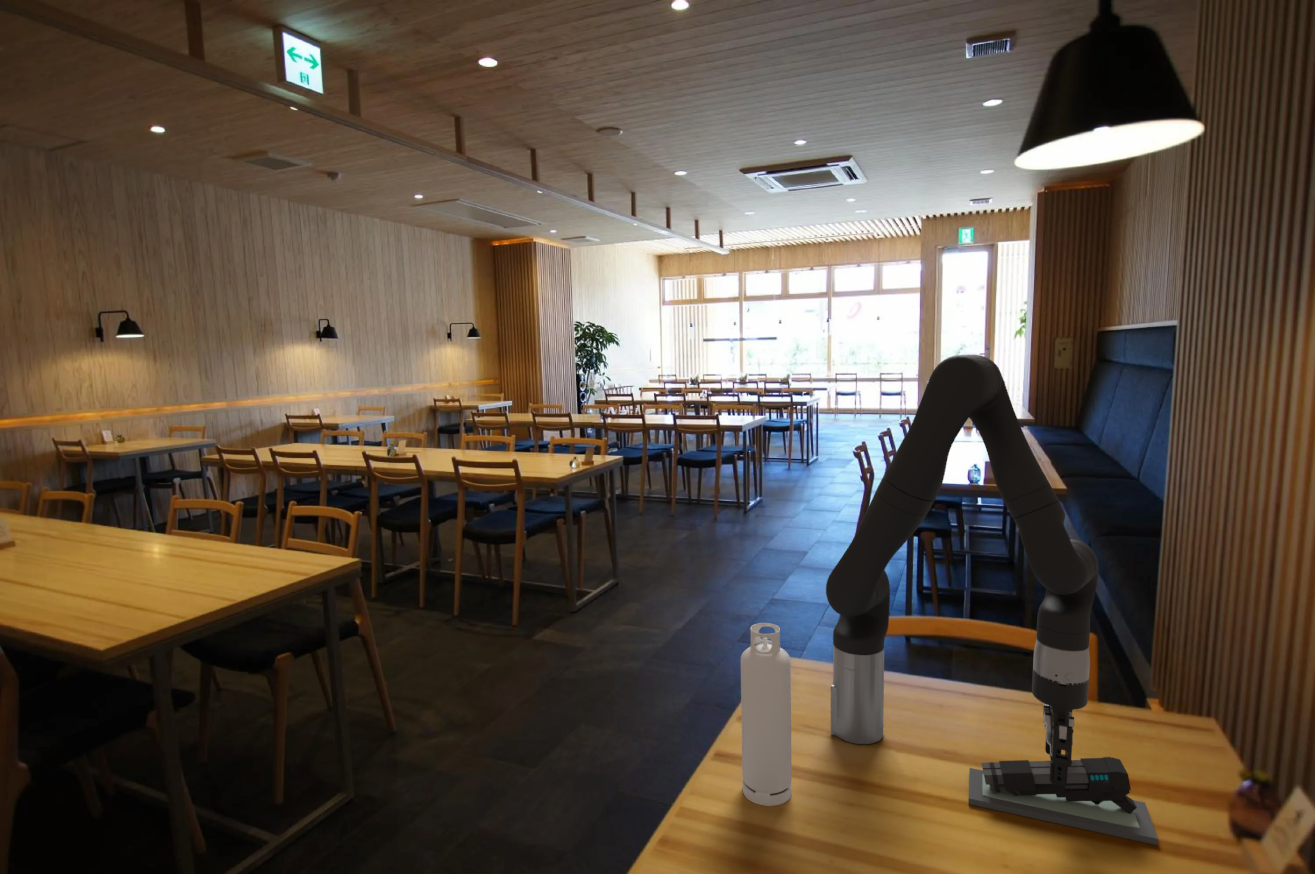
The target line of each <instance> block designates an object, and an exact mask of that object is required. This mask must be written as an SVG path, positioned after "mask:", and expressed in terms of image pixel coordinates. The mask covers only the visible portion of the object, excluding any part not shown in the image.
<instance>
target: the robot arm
mask: <svg viewBox="0 0 1315 874" xmlns="http://www.w3.org/2000/svg"><path fill="white" fill-rule="evenodd" d="M968 420H971V422H972V424H973V425H974V427H975V428H976V430H977V431H978V433H979V435H980V438H981V440H982V442H983V444H984V447H985V449H986V453H987V457H988V460H989V464H990V468H991V472H992V475H993V476H992V477H993V479H994V483H995V486H996V488H997V490H998V493H999V495H1000V497H1001V498H1002V501H1003V503H1004V505H1005V506H1006V508H1007V510H1008V512H1009V515H1010V516H1011V518H1012V520H1013V521H1014V523H1015V525H1016V526H1017V528H1018V532H1019V535H1020V539H1021V542H1022V543H1021V544H1022V546H1023V549H1024V552H1025V554H1026V555H1025V556H1026V558H1027V561H1028V565H1029V567H1030V568H1031V571H1032V573H1033V575H1034V576H1035V578H1036V579H1037V581H1038V582H1039V584H1041V585H1042V586H1043V587H1044V588H1045V595H1044V598H1043V601H1042V602H1041V604H1040V605H1039V608H1038V612H1037V619H1036V634H1035V636H1036V637H1035V638H1036V640H1035V645H1034V650H1033V662H1032V664H1033V665H1032V681H1031V682H1032V683H1031V693H1032V695H1033V697H1034V698H1036V699H1037V700H1038V702H1041V703H1042V704H1043V705H1042V712H1043V713H1042V718H1043V720H1042V721H1043V724H1044V725H1043V726H1044V728H1045V729H1044V730H1046V731H1045V745H1044V746H1045V747H1044V750H1045V753H1046V754H1047V755H1049V759H1050V760H1049V761H1051V762H1050V782H1051V783H1052V784H1056V785H1061V786H1066V785H1067V771H1068V766H1069V767H1071V764H1072V761H1071V760H1072V756H1073V755H1072V754H1073V746H1074V737H1073V735H1074V727H1075V717H1074V716H1073V710H1080V709H1083V708H1085V707H1086V706H1087V704H1088V702H1089V701H1088V700H1089V687H1090V686H1089V685H1090V669H1091V668H1090V667H1091V660H1090V659H1091V657H1090V656H1091V655H1090V636H1091V612H1092V608H1093V604H1094V599H1095V595H1096V590H1097V585H1098V580H1099V579H1098V578H1099V562H1098V558H1097V555H1096V553H1095V551H1094V550H1093V549H1092V548H1091V546H1089V545H1088V544H1087V543H1085V542H1084V541H1081V540H1078V539H1074V538H1071V539H1070V537H1069V535H1068V532H1067V530H1066V527H1065V519H1066V513H1065V510H1064V508H1063V506H1062V503H1061V502H1060V499H1059V497H1058V496H1057V494H1056V493H1055V492H1056V491H1054V488H1053V486H1052V485H1051V483H1050V482H1049V479H1048V478H1047V476H1046V474H1045V473H1044V471H1043V469H1042V467H1041V465H1040V463H1039V461H1038V460H1037V458H1036V456H1035V454H1034V451H1033V449H1032V448H1031V446H1030V444H1029V442H1028V440H1027V438H1026V435H1025V434H1024V433H1025V432H1024V431H1023V429H1022V426H1021V425H1020V422H1019V419H1018V417H1017V414H1016V412H1015V410H1014V407H1013V403H1012V401H1011V397H1010V395H1009V392H1008V389H1007V386H1006V383H1005V380H1004V378H1003V375H1002V372H1001V370H1000V368H999V367H998V365H997V364H996V363H995V362H994V361H993V360H992V359H990V358H989V357H986V356H983V355H980V354H956V355H952V356H948V357H947V358H945V359H943V360H941V362H940V363H939V364H937V365H936V367H935V368H934V369H933V371H932V373H931V375H930V376H929V379H928V382H927V384H926V386H925V389H924V392H923V395H922V398H921V399H920V402H919V405H918V408H917V411H916V413H915V415H914V418H913V420H912V423H911V425H910V427H909V428H908V431H907V432H906V434H905V436H904V438H903V439H902V440H901V443H900V444H899V447H898V449H897V451H896V452H895V454H894V456H893V458H892V460H891V462H890V463H889V465H888V466H887V468H886V471H885V472H884V474H883V476H882V478H881V480H880V482H879V484H878V486H877V487H876V490H875V493H874V494H873V497H872V499H871V501H870V503H869V505H868V506H867V509H866V510H865V513H864V515H863V517H862V519H861V522H860V524H859V526H858V528H857V530H856V532H855V535H854V537H853V538H852V541H851V542H850V543H849V546H848V547H847V549H846V550H845V551H844V553H843V554H842V556H841V558H840V559H839V560H838V562H837V563H836V565H835V566H834V568H833V569H832V571H831V572H830V574H829V576H828V578H827V580H826V586H825V594H826V599H827V602H828V604H829V607H831V609H833V611H834V612H835V613H837V614H839V615H840V617H839V619H838V621H837V623H836V625H835V626H834V628H833V633H832V644H833V645H832V651H833V652H832V654H833V655H832V658H833V659H832V662H833V663H832V669H833V670H832V674H833V675H832V683H831V686H830V735H832V736H834V737H835V736H836V737H838V738H839V739H841V740H842V741H845V742H848V743H851V744H855V745H871V744H874V743H878V742H879V741H881V740H882V739H883V737H884V729H885V728H884V727H885V723H884V717H885V715H884V713H885V712H884V710H885V709H884V708H885V707H884V706H885V705H884V704H885V703H884V702H885V701H884V700H885V699H884V697H885V639H886V637H887V634H888V630H889V621H890V605H891V603H890V602H891V589H890V588H891V587H890V585H891V584H890V580H889V577H888V574H887V572H886V568H887V566H888V564H889V563H890V561H891V560H892V558H893V557H894V556H895V554H897V552H898V551H899V550H900V549H901V548H902V547H903V545H905V543H906V542H907V541H908V540H909V539H910V538H911V537H912V535H913V534H914V533H915V532H916V531H917V529H918V528H919V527H920V526H921V524H922V523H923V521H924V520H925V519H926V517H927V515H928V513H929V511H930V510H931V508H932V507H933V504H934V503H935V500H936V499H937V497H938V495H939V492H940V490H941V488H942V485H943V482H944V479H945V473H946V468H947V464H948V458H949V453H950V451H951V449H952V446H953V443H954V442H955V440H956V438H957V436H958V435H959V433H960V431H961V430H962V428H963V426H964V425H965V424H966V423H967V421H968ZM1062 751H1064V754H1063V753H1062Z"/></svg>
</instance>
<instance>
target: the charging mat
mask: <svg viewBox="0 0 1315 874" xmlns="http://www.w3.org/2000/svg"><path fill="white" fill-rule="evenodd" d="M968 779H969V780H968V805H971V806H975V807H976V806H977V807H980V808H985V809H988V810H989V809H990V810H994V811H999V812H1003V813H1008V814H1012V815H1016V816H1022V817H1025V818H1031V819H1035V820H1040V821H1045V822H1048V823H1054V824H1058V825H1063V826H1068V827H1072V828H1077V829H1080V830H1086V831H1089V832H1096V833H1100V834H1104V835H1109V836H1114V837H1117V838H1122V839H1127V840H1132V841H1135V842H1136V841H1137V842H1140V843H1146V844H1151V845H1155V846H1158V845H1159V838H1158V837H1159V836H1157V832H1156V830H1155V827H1154V824H1153V821H1152V818H1151V815H1150V812H1149V810H1148V807H1147V804H1146V802H1145V801H1140V800H1135V799H1132V800H1133V801H1134V803H1135V805H1136V807H1137V808H1136V809H1135V810H1134V811H1133V812H1132V813H1131V814H1129V813H1127V812H1126V811H1124V810H1123V809H1122V808H1121V807H1119V806H1118V805H1116V804H1114V803H1113V802H1112V801H1103V802H1100V803H1101V804H1099V805H1095V803H1093V802H1092V801H1067V800H1066V798H1065V797H1062V798H1057V796H1056V794H1037V795H1018V796H1016V795H1014V794H1013V793H1010V792H1006V791H1004V792H997V793H996V794H994V793H993V792H992V791H990V787H991V786H990V785H986V783H985V778H984V773H983V769H979V768H974V767H973V768H972V767H969V776H968Z"/></svg>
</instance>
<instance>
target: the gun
mask: <svg viewBox="0 0 1315 874" xmlns="http://www.w3.org/2000/svg"><path fill="white" fill-rule="evenodd" d="M1071 761H1072V764H1071V767H1069V766H1068V771H1067V785H1066V786H1061V785H1056V784H1052V783H1051V782H1050V762H1051V760H1032V761H1031V760H1030V761H1029V759H1024V760H1023V759H1020V760H1019V759H1018V760H998V761H996V762H993V761H992V762H990V761H989V762H981V767H982V768H981V769H982V770H983V773H984V778H985V783H986V785H990V786H991V787H990V791H992V792H993V793H994V794H996V793H997V792H1004V791H1006V792H1010V793H1013V794H1014V795H1016V796H1018V795H1037V794H1056V796H1057V798H1062V797H1065V798H1066V800H1067V801H1092V802H1093V803H1095V805H1099V804H1101V803H1100V802H1103V801H1112V802H1113V803H1114V804H1116V805H1118V806H1119V807H1121V808H1122V809H1123V810H1124V811H1126V812H1127V813H1129V814H1131V813H1132V812H1133V811H1134V810H1135V809H1136V808H1137V807H1136V805H1135V803H1134V801H1133V800H1134V799H1133V798H1131V797H1130V796H1128V795H1129V794H1131V793H1130V791H1131V790H1132V787H1131V783H1130V778H1129V777H1130V776H1129V774H1128V772H1127V769H1126V768H1125V767H1124V764H1123V762H1122V761H1121V759H1120V758H1117V757H1111V756H1104V757H1089V758H1087V757H1086V758H1085V757H1084V758H1080V759H1071Z"/></svg>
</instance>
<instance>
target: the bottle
mask: <svg viewBox="0 0 1315 874" xmlns="http://www.w3.org/2000/svg"><path fill="white" fill-rule="evenodd" d="M763 627H766V628H767V627H768V628H773V630H774V633H760V630H761V628H763ZM769 639H770V640H769ZM791 662H792V659H791V656H790V655H789V653H788V652H787V651H786V650H785V649H783V648H782V647H781V628H780V626H779V625H776V624H774V623H770V622H769V623H768V622H759V623H756V624H752V625H751V626H750V646H749V647H747V648H746V649H745V650H744V651H743V652H742V654H741V656H740V697H741V698H740V699H741V700H740V701H741V702H740V703H741V704H740V706H741V707H740V708H741V711H740V712H741V766H742V768H741V770H742V793H743V795H744V796H745V798H747V800H748V801H750V802H752V803H753V804H756V805H760V806H765V807H766V806H767V807H773V806H780V805H783V804H784V803H787V802H788V801H789V800H790V799H791V797H792V795H793V793H792V792H793V790H792V786H793V785H792V784H793V783H792V672H791V671H792V669H791V667H792V665H791V664H792V663H791Z"/></svg>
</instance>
